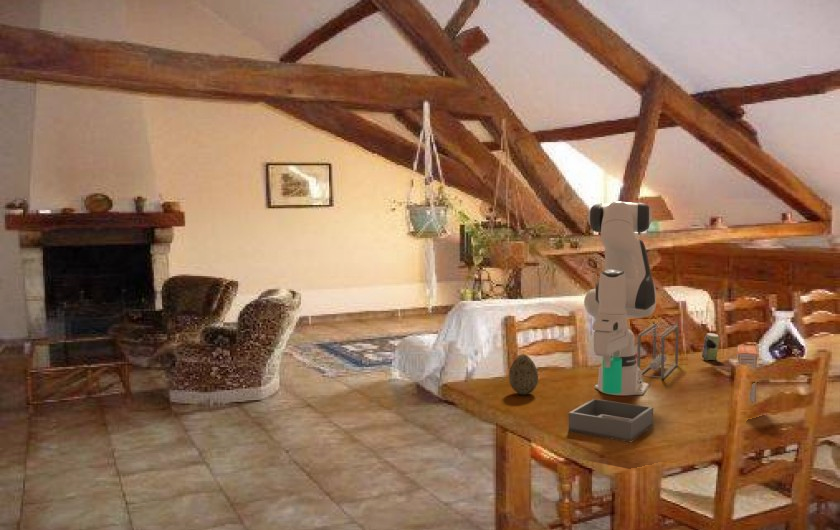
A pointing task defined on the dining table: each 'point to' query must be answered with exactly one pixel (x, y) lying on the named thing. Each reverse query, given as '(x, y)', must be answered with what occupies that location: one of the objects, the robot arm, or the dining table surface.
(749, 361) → the cracker box
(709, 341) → the beverage can
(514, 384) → the decorative egg
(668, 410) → the dining table surface
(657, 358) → the newton's cradle
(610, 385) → the candle
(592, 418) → the walled box
